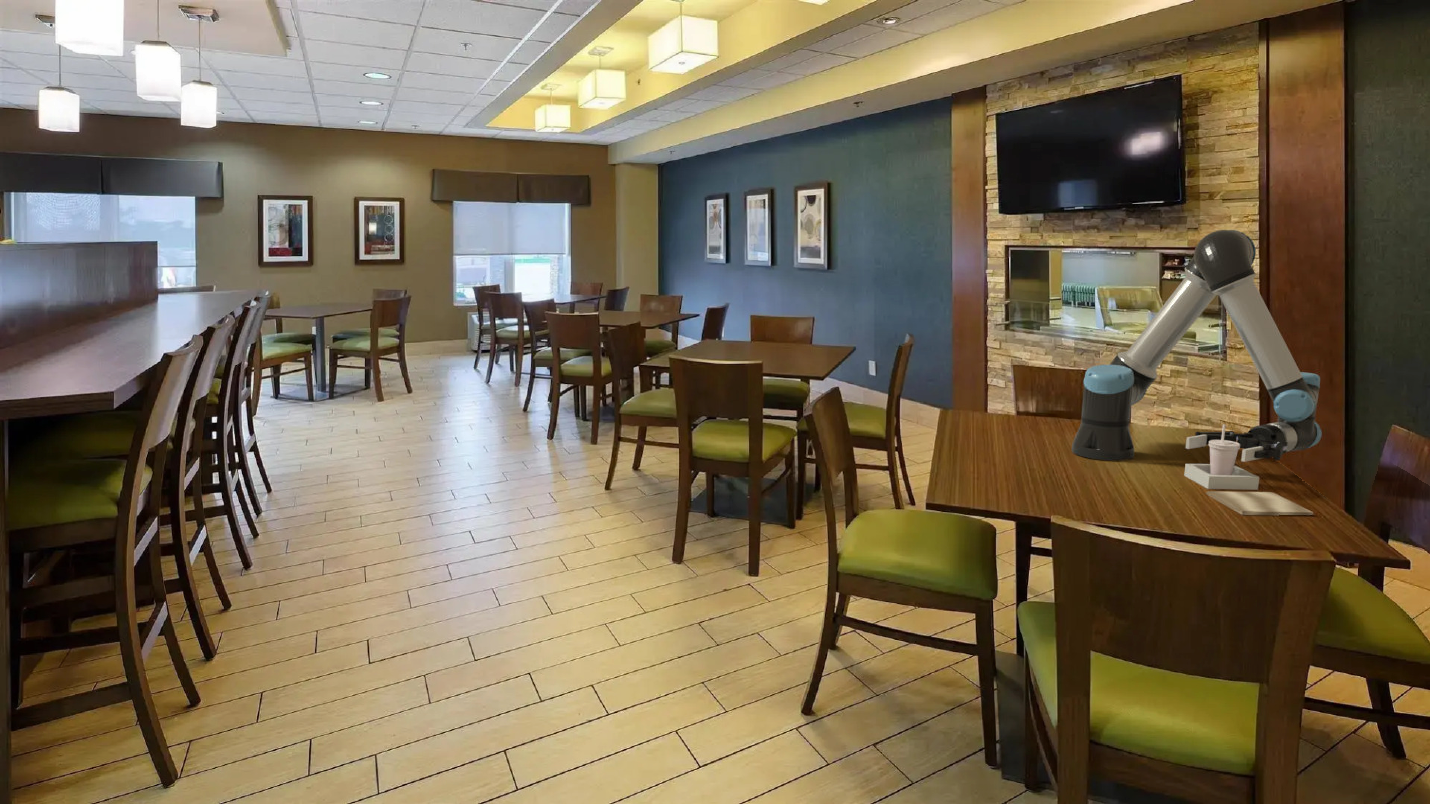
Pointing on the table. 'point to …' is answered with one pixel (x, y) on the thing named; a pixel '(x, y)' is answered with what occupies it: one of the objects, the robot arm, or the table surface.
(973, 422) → the table surface
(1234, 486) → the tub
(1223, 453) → the smoothie
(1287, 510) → the board
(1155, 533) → the table surface
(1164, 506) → the table surface
